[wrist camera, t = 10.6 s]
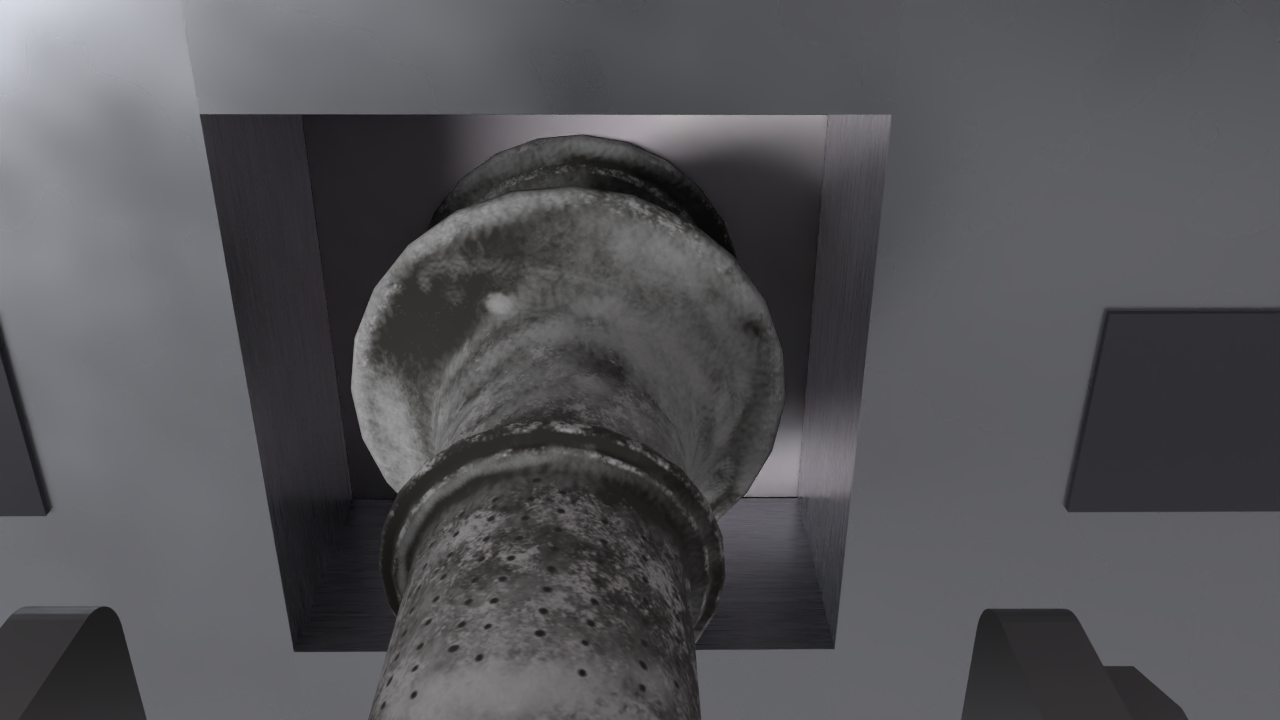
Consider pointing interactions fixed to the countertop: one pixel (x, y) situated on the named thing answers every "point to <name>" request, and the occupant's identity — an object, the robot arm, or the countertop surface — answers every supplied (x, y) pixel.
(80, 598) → the gray slotted block
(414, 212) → the countertop surface
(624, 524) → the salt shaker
